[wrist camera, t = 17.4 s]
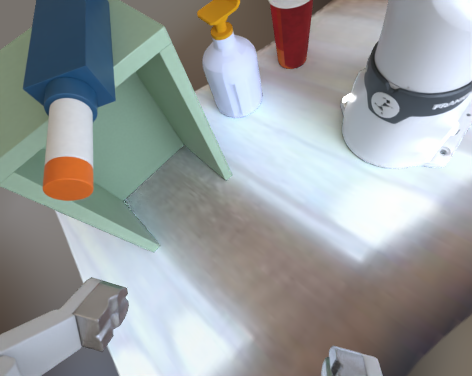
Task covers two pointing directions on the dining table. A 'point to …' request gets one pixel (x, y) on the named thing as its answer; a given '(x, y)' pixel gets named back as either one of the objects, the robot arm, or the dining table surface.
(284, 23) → the paper cup
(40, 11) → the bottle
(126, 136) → the stand
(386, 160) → the robot arm
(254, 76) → the soap bottle
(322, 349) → the dining table surface
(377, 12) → the dining table surface
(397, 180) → the dining table surface
